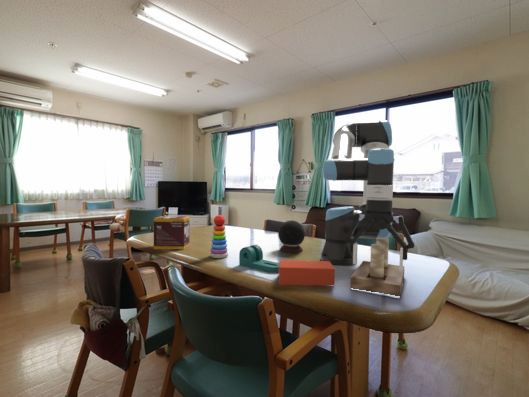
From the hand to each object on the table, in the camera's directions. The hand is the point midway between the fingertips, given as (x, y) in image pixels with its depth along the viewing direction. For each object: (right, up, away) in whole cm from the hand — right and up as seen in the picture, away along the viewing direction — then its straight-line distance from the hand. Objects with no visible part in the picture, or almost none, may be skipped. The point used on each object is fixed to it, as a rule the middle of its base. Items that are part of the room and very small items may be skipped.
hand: (377, 266), depth 87 cm
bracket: (-36, -6, +22) cm, 43 cm away
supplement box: (-83, -4, +55) cm, 100 cm away
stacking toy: (-56, -5, +38) cm, 68 cm away
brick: (-22, -7, +7) cm, 24 cm away
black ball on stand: (-22, -5, +51) cm, 55 cm away
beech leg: (0, -7, 0) cm, 7 cm away
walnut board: (+3, -7, +6) cm, 9 cm away
